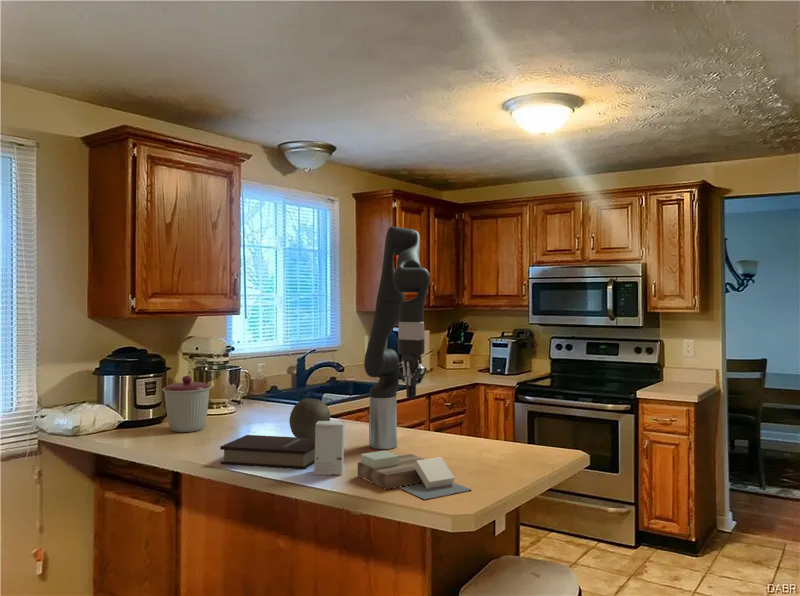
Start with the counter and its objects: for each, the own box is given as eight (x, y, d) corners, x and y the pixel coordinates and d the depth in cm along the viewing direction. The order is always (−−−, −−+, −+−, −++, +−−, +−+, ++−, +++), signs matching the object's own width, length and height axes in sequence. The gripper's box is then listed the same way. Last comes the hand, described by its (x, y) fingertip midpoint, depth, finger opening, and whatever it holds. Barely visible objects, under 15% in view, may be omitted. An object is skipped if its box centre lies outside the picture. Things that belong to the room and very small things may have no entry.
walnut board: (357, 476, 190) (357, 462, 190) (410, 467, 200) (410, 453, 200) (386, 489, 177) (386, 474, 177) (441, 479, 186) (441, 465, 186)
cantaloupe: (303, 446, 228) (302, 403, 228) (282, 440, 239) (282, 398, 239) (337, 440, 237) (337, 398, 237) (316, 434, 248) (315, 394, 248)
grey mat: (399, 488, 178) (399, 487, 178) (445, 480, 186) (444, 479, 186) (424, 500, 168) (424, 499, 168) (471, 490, 175) (471, 489, 175)
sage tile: (360, 462, 190) (360, 454, 190) (384, 458, 194) (384, 450, 194) (374, 468, 183) (374, 459, 183) (399, 464, 187) (399, 455, 187)
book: (328, 455, 217) (327, 437, 217) (304, 470, 198) (304, 451, 198) (250, 451, 224) (249, 433, 224) (220, 465, 205) (220, 446, 205)
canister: (198, 435, 248) (198, 379, 248) (153, 434, 251) (153, 378, 251) (219, 425, 266) (218, 373, 266) (177, 424, 269) (176, 372, 269)
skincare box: (314, 475, 192) (313, 424, 191) (316, 470, 198) (316, 420, 197) (343, 475, 191) (342, 423, 191) (345, 469, 197) (344, 419, 197)
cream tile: (414, 467, 182) (416, 460, 181) (438, 463, 186) (441, 456, 185) (427, 488, 176) (429, 481, 175) (452, 484, 180) (454, 477, 179)
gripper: (388, 336, 194) (388, 395, 194) (412, 339, 182) (412, 402, 183) (410, 335, 198) (409, 393, 198) (435, 338, 186) (434, 400, 187)
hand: (411, 397), depth 190 cm, fingers closed
